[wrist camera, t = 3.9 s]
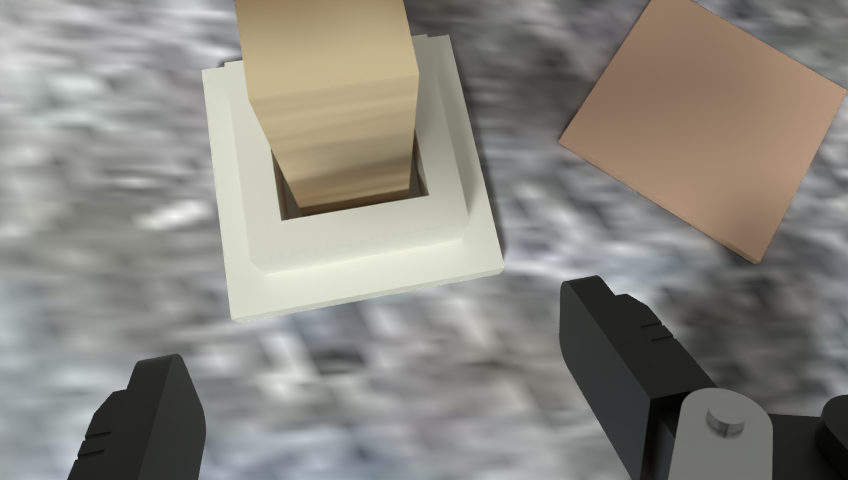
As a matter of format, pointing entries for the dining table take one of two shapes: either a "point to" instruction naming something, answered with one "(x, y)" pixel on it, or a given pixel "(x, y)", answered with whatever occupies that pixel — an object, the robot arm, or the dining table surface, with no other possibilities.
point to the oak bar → (333, 96)
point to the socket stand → (353, 228)
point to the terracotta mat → (706, 123)
